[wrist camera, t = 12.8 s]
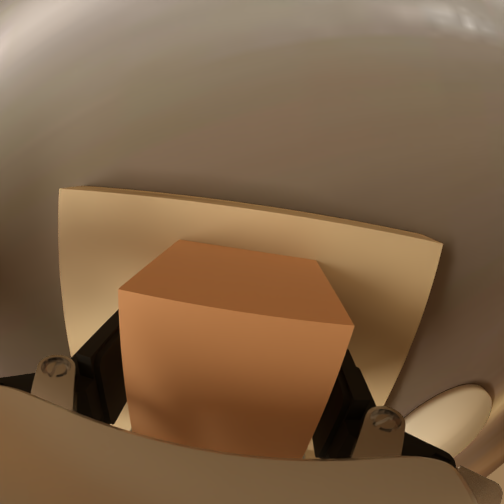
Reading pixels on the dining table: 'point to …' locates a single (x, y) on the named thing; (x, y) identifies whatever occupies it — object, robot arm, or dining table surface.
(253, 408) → the block
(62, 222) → the board
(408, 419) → the coaster
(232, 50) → the dining table surface
